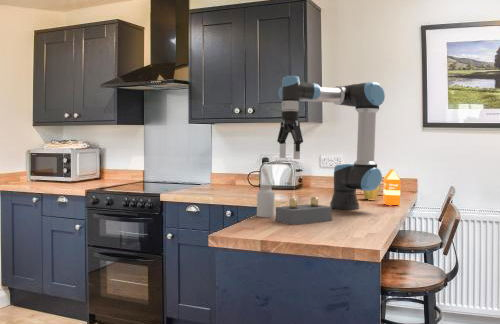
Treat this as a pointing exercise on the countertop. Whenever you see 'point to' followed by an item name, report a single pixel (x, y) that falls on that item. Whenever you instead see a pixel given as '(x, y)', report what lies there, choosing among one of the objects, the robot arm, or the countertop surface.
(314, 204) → the pin
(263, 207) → the pill bottle
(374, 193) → the plant pot
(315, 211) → the block
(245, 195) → the countertop surface
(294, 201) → the pin
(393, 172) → the orange juice
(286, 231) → the countertop surface
